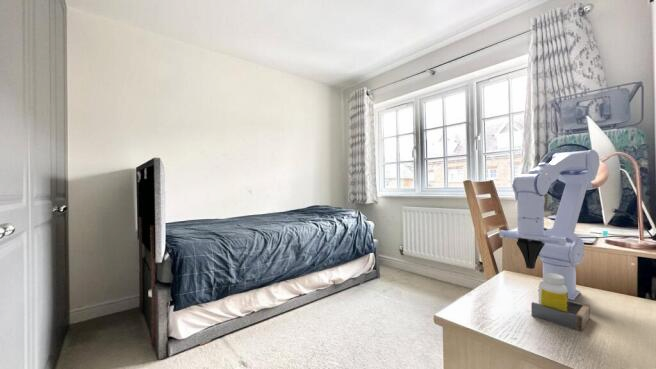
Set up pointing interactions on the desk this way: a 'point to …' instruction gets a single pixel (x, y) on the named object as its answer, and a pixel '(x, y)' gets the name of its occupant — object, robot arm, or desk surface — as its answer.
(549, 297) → the supplement bottle
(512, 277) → the desk surface
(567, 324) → the bracket
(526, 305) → the desk surface
